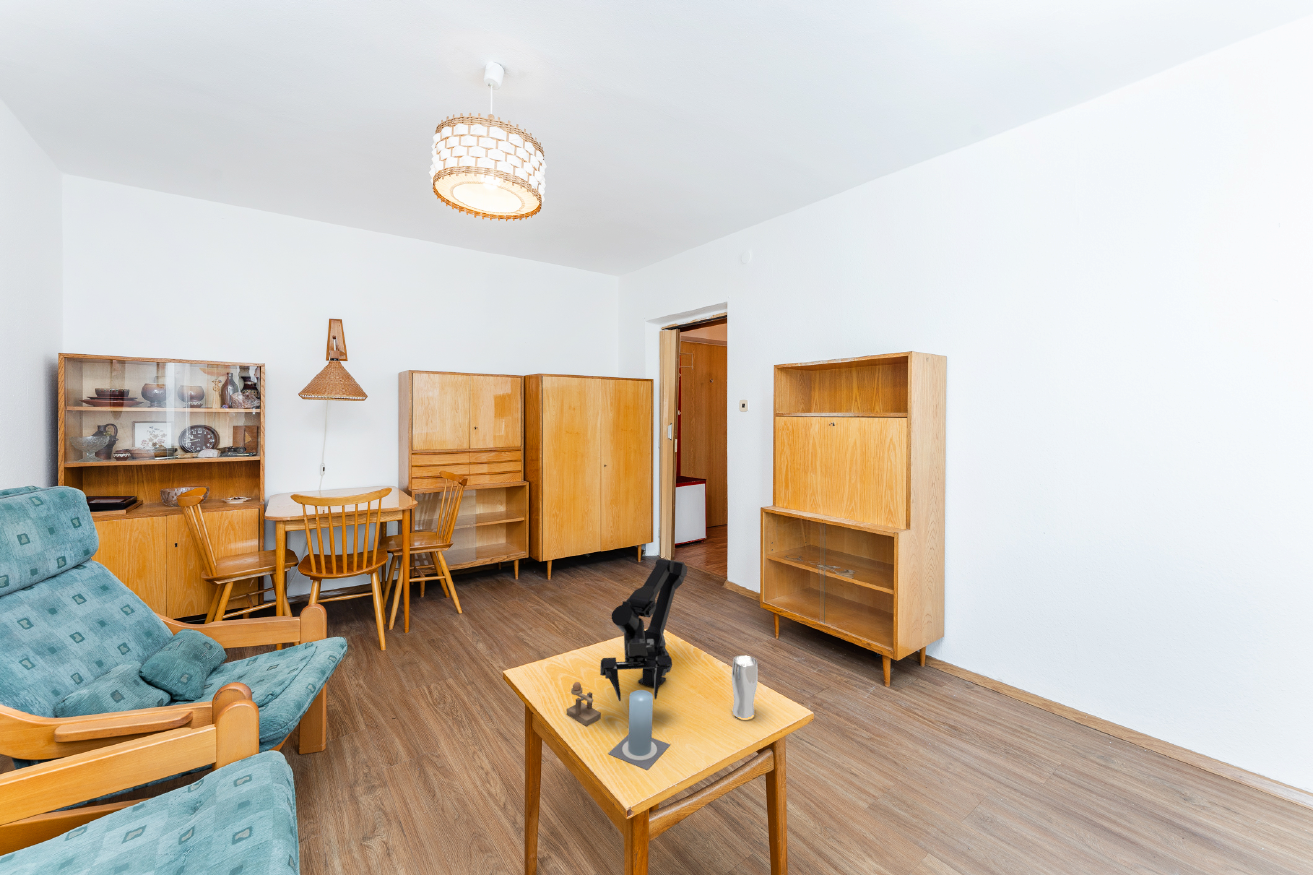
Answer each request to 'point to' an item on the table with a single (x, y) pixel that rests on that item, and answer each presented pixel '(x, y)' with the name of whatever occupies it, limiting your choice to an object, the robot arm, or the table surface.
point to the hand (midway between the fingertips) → (637, 699)
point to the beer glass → (744, 685)
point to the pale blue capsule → (640, 722)
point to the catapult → (583, 707)
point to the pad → (641, 761)
